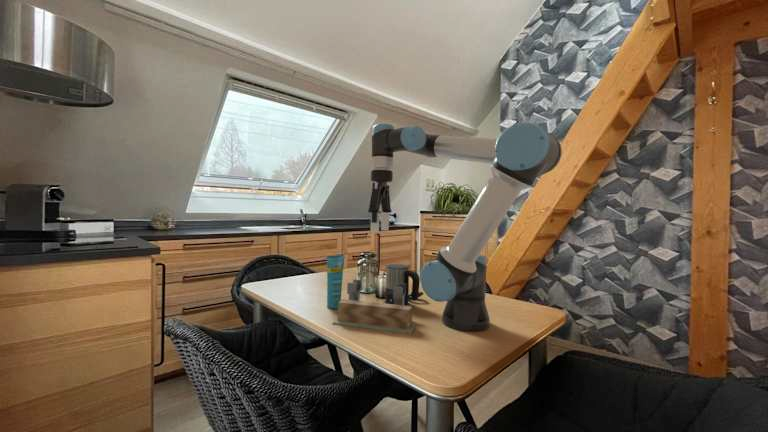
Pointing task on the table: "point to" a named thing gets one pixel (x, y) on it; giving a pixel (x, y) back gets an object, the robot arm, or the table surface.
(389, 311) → the rail
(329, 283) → the tube
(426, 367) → the table surface
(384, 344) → the table surface
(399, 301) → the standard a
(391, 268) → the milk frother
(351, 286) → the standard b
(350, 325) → the felt mat
